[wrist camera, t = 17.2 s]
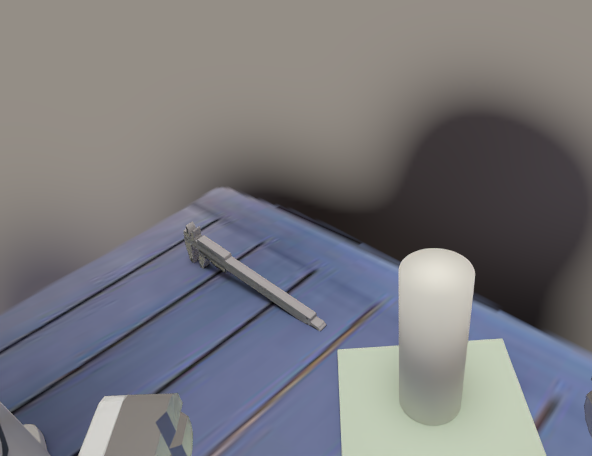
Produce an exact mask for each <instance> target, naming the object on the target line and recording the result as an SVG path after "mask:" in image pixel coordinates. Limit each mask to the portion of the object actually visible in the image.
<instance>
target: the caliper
mask: <svg viewBox="0 0 592 456" xmlns="http://www.w3.org/2000/svg"><path fill="white" fill-rule="evenodd" d="M184 240H185V245H186V248H187V251H188V254H189V257H190V260H191V261H192V262H193V263H195V262H196V261H197V260H199V262H200V267H201V268H204V267H206V266H207V265H209V263H210V262H212V263H213V264H214V265H215V266H216V267H217V268H219V269H221V270H222V271H223V272H224V273H227V272H228V271H229V272H230V273H232V274H233V275H235V276H236V277H237V278H239V279H240V280H242V281H243V282H245V283H246V284H248V285H249V286H251V287H252V288H253V289H255V290H256V291H258V292H259V293H261V294H262V295H264V296H265V297H266V298H268V299H269V300H271V301H272V302H274V303H275V304H277V305H278V306H279V307H281V308H282V309H284V310H285V311H287V312H288V313H289V314H291V315H292V316H294V317H295V318H297V319H298V320H300V321H302V322H304V323H305V324H307V325H309V326H310V325H311V326H313V327H314V328H316V329H317V330H319V331H321V330H322V329H323V328H324V327H325V326H326V323H325V322H324V321H323V320H321V319H320V318H318V317H317V316H316V312H314V311H313V310H311V309H310V308H308V307H307V306H305V305H304V304H302V303H301V302H299V301H298V300H296V299H295V298H293V297H292V296H290V295H289V294H287V293H286V292H284V291H283V290H281V289H280V288H278V287H277V286H275V285H274V284H272V283H271V282H269V281H268V280H266V279H265V278H263V277H262V276H260V275H259V274H257V273H256V272H254V271H253V270H251V269H250V268H248V267H247V266H245V265H244V264H242V263H241V262H239V261H238V260H236V259H235V258H233V257H232V256H231V253H230V252H228V251H227V250H225V249H224V248H222V247H221V246H219V245H218V244H216V243H215V242H213V241H212V240H210V239H209V238H208V237H206V236H204V235H203V236H202V235H201V230H200V226H199V227H198V228H196V227H195V225H194V223H193V222H191V223H189V224H188V225H186V229H185V230H184Z"/></svg>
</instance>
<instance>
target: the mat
mask: <svg viewBox="0 0 592 456" xmlns="http://www.w3.org/2000/svg"><path fill="white" fill-rule="evenodd" d="M338 373H339V397H340V421H341V444H342V456H546V454H545V451H544V448H543V446H542V443H541V440H540V438H539V435H538V432H537V430H536V427H535V424H534V422H533V419H532V416H531V414H530V411H529V408H528V406H527V403H526V400H525V398H524V395H523V392H522V390H521V387H520V385H519V382H518V379H517V377H516V374H515V371H514V369H513V366H512V363H511V361H510V358H509V355H508V353H507V350H506V347H505V345H504V342H503V339H489V340H474V341H468V344H467V354H466V363H465V372H464V381H463V390H462V400H461V408H460V411H459V413H458V414H457V416H456V417H455V418H454V419H453V420H451V421H450V422H448V423H445V424H442V425H436V426H431V425H425V424H421V423H419V422H416V421H415V420H413V419H411V418H410V417H409V416H408V415H407V414H406V413H405V412H404V411H403V409H402V407H401V405H400V401H399V346H385V347H370V348H355V349H340V350H338Z"/></svg>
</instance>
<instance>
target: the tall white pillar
mask: <svg viewBox="0 0 592 456" xmlns="http://www.w3.org/2000/svg"><path fill="white" fill-rule="evenodd" d="M474 280H475V271H474V268H473V266H472V264H471V263H470V262H469V261H468V260H467V259H466V258H465V257H463V256H462V255H460V254H458V253H456V252H453V251H450V250H446V249H439V248H430V249H423V250H419V251H416V252H413V253H411V254H410V255H408V256H407V257H405V258H404V259H403V261H402V262H401V264H400V266H399V401H400V405H401V407H402V409H403V411H404V412H405V413H406V414H407V415H408V416H409V417H410V418H411V419H413V420H415V421H416V422H419V423H421V424H425V425H431V426H436V425H442V424H445V423H448V422H450V421H451V420H453V419H454V418H455V417H456V416H457V414H458V413H459V411H460V408H461V400H462V390H463V381H464V372H465V363H466V354H467V344H468V335H469V326H470V317H471V308H472V298H473V288H474Z"/></svg>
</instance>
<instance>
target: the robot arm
mask: <svg viewBox="0 0 592 456" xmlns="http://www.w3.org/2000/svg"><path fill="white" fill-rule="evenodd" d="M591 380H592V378H591ZM181 408H182V401H181V399H180V397H179V395H178V393H170V394H143V395H118V396H104V398H103V399H102V400H101V401H100V403H99V404H98V406H97V409H96V411H95V414H94V416H93V419H92V421H91V424H90V427H89V429H88V432H87V434H86V437H85V439H84V442H83V444H82V447H81V449H80V452H79V455H78V456H191V454H192V446H193V432H192V426H191V422H190V420H189V417H188V416H187V415H185V414H184V413H182V412H181ZM584 410H585V420H586V423H587V427H588V430H589V433H590V435H591V437H592V391H591V392H589V393H588V394H587V395H586V400H585V404H584ZM0 456H51V455H50V454H49V453H48V451H47V447H46V443H45V439H44V436H43V434H42V432H41V431H40V430H39V429H38V428H37V427H36V426H35V425H33V424H25V425H22V423H21V422H20V421H19V420H18V419H17V418H16V417H15V416H14V415H13V414H12V413H11V412H10V411H9V410H8V409H7V408H6V407H5V406H4V405H3V404H2V403H1V402H0Z"/></svg>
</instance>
